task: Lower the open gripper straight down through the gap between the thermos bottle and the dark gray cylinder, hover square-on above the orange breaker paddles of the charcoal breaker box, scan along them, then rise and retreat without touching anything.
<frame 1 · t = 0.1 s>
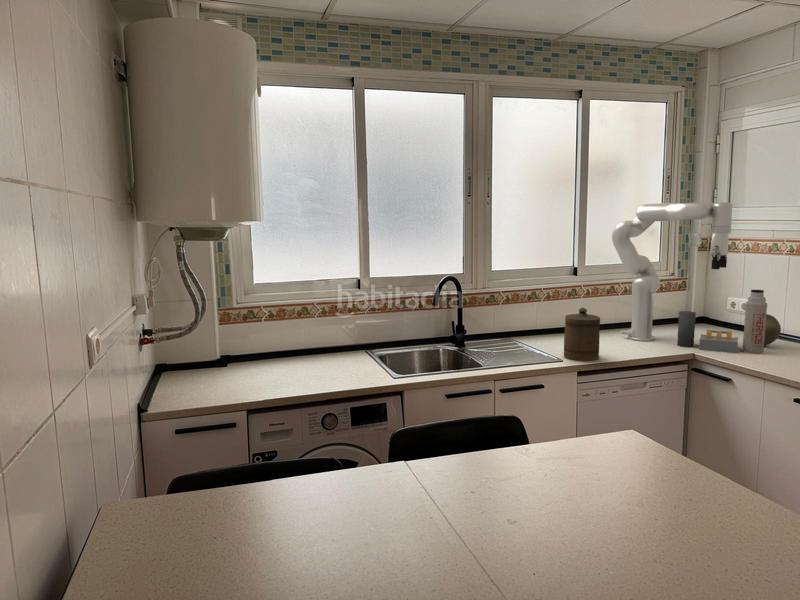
hand: (718, 268, 255), 37 cm above the table, tool pointing down, fingers open, 9 cm apart
breaker box: (718, 348, 260), on the table
wooden container: (581, 357, 249), on the table
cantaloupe: (761, 346, 263), on the table
dark gray cylinder: (685, 345, 266), on the table
breaker paddles: (719, 334, 258), point 7 cm above the table, hinge at 12.0°
thermos bottle: (752, 352, 253), on the table
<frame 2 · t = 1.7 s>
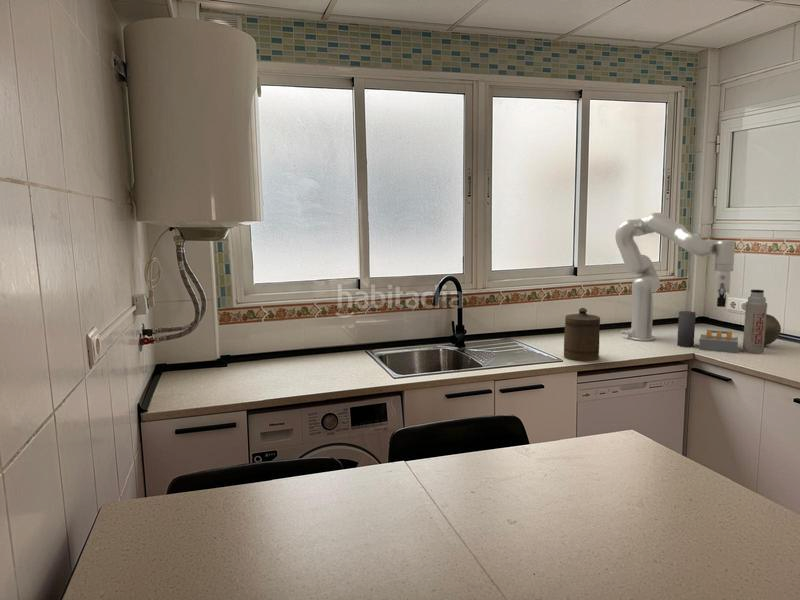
hand: (721, 305, 256), 20 cm above the table, tool pointing down, fingers open, 9 cm apart
nothing on the table moved.
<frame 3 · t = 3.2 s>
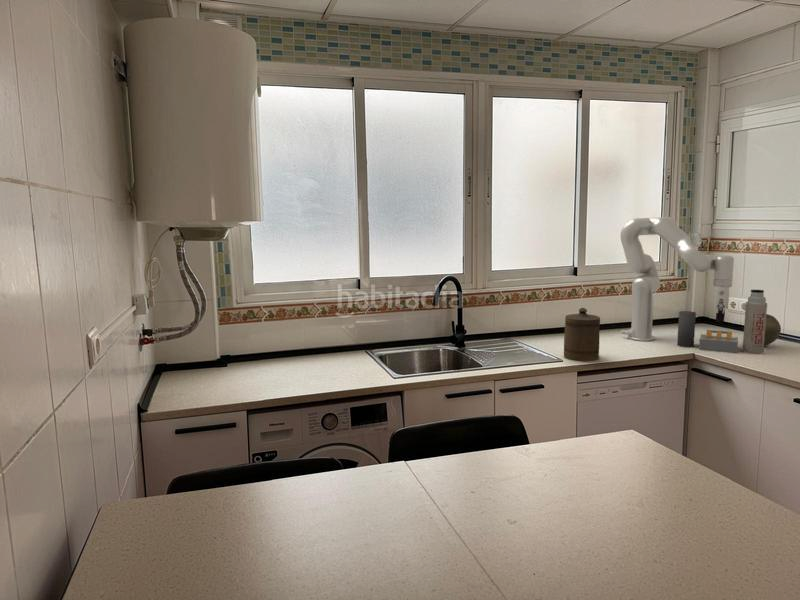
hand: (720, 320, 258), 13 cm above the table, tool pointing down, fingers open, 9 cm apart
nothing on the table moved.
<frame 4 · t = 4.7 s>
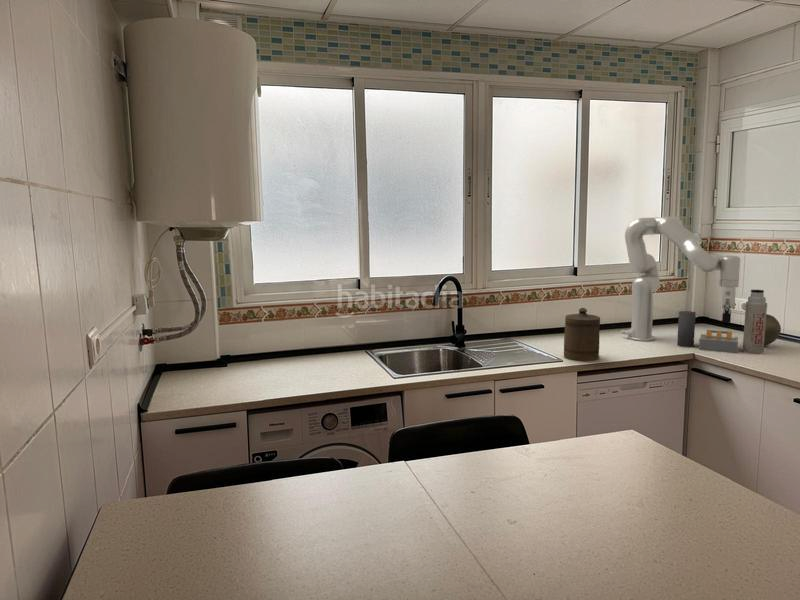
hand: (726, 320, 256), 13 cm above the table, tool pointing down, fingers open, 9 cm apart
nothing on the table moved.
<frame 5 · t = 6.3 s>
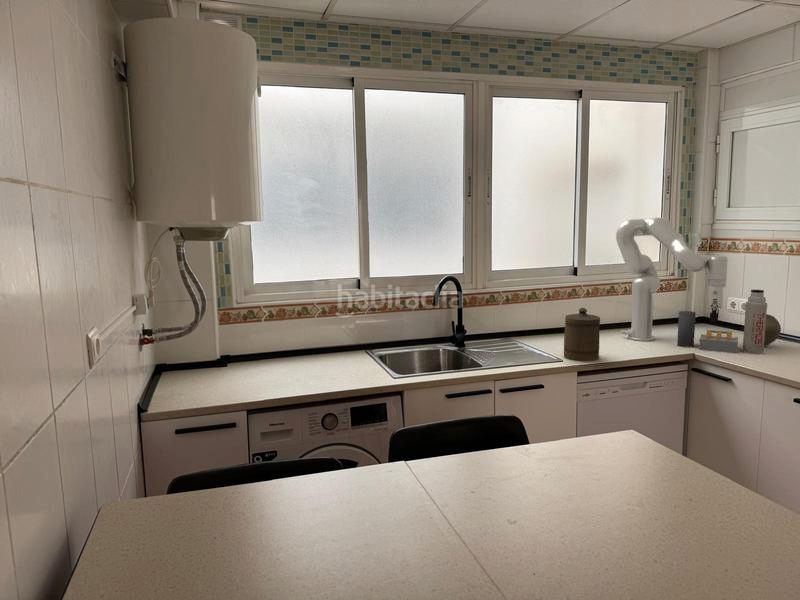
hand: (713, 319, 259), 13 cm above the table, tool pointing down, fingers open, 9 cm apart
nothing on the table moved.
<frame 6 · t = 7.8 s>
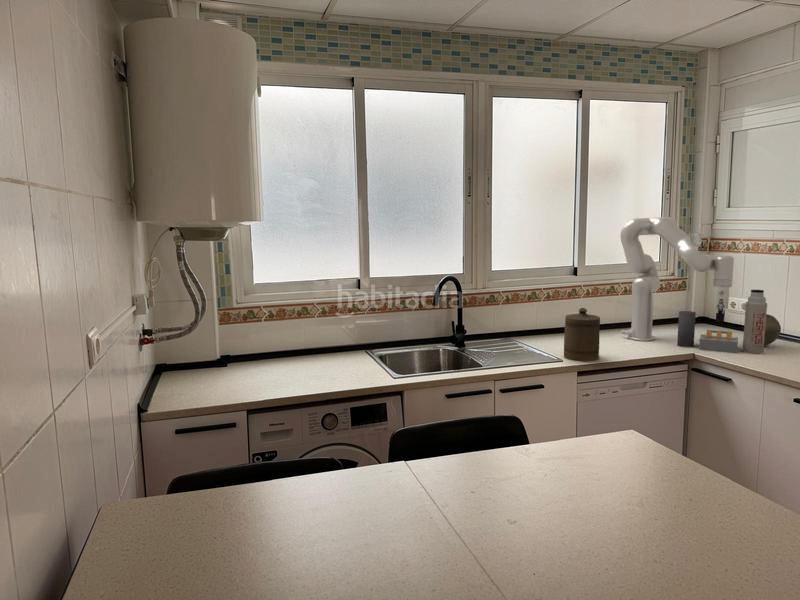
hand: (720, 320, 258), 13 cm above the table, tool pointing down, fingers open, 9 cm apart
nothing on the table moved.
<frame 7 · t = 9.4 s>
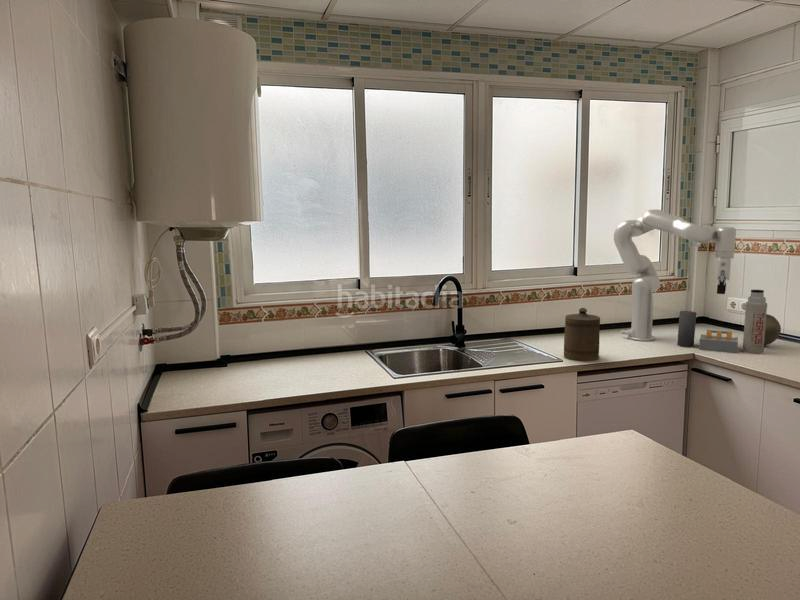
hand: (721, 292, 256), 26 cm above the table, tool pointing down, fingers open, 9 cm apart
nothing on the table moved.
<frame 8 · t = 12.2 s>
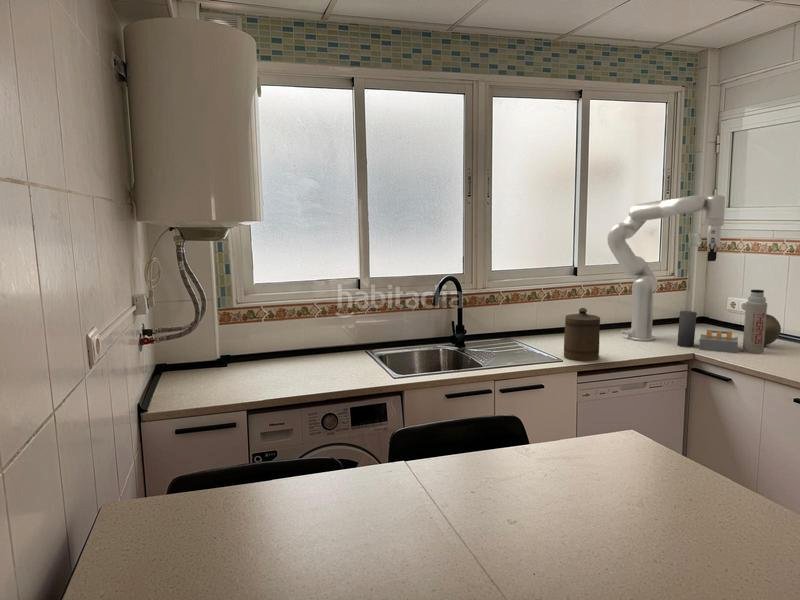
hand: (711, 260, 260), 40 cm above the table, tool pointing down, fingers open, 9 cm apart
nothing on the table moved.
at the end: breaker paddles at +12° (first picture: +12°); thermos bottle moved 0.2 cm from its start; dark gray cylinder moved 0.1 cm from its start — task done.
